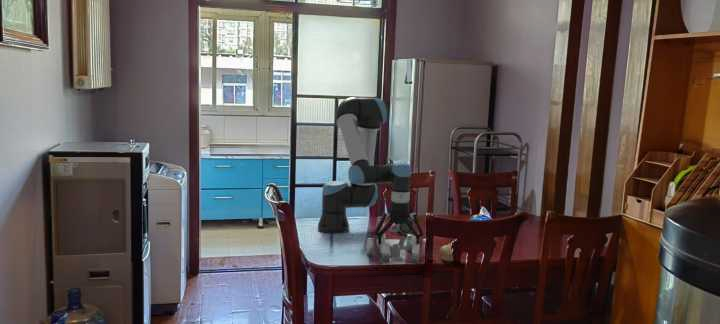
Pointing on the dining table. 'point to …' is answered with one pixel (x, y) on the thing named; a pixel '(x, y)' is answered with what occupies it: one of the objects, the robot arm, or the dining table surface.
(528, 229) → the dining table surface
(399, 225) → the ceramic mug
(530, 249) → the dining table surface
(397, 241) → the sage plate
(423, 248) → the spacer posts
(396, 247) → the lighter
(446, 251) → the onion
